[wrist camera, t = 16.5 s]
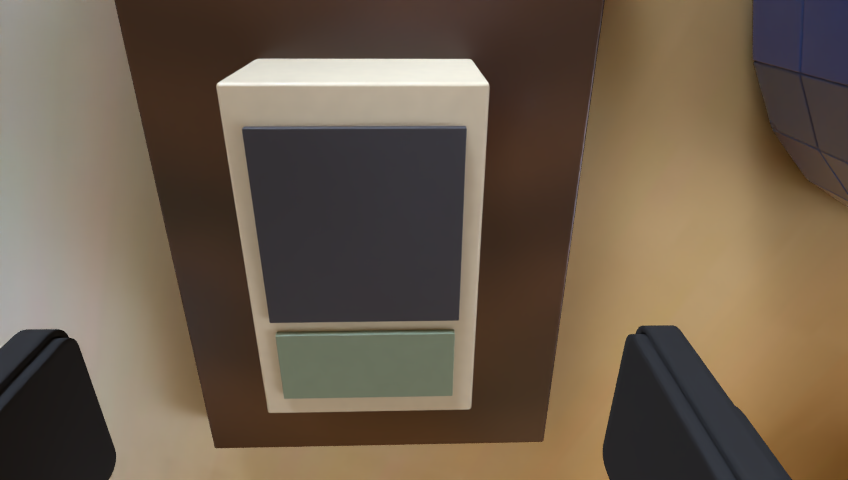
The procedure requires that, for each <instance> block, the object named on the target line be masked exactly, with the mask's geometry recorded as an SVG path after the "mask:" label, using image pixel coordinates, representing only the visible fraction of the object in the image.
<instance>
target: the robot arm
mask: <svg viewBox="0 0 848 480" xmlns="http://www.w3.org/2000/svg"><path fill="white" fill-rule="evenodd" d="M603 460H604V465H605V468H606V471H607V474H608V476H609V479H610V480H792V479H791V478H790V476H789V475H788V474H787V472H786V471H785V469H784V468H783V467H782V465H781V464H780V463H779V461H778V460H777V458H776V457H775V456H774V454H773V453H772V452H771V450H770V449H769V447H768V446H767V445H766V443H765V442H764V441H763V439H762V438H761V436H760V435H759V434H758V432H757V431H756V430H755V428H754V427H753V426H752V424H751V423H750V421H749V420H748V419H747V417H746V416H745V415H744V414H743V413H742V411H741V410H740V409H739V408H738V407H736V406H734V404H733V403H732V401H731V400H730V399H729V397H728V396H727V394H726V393H725V392H724V390H723V389H722V387H721V386H720V385H719V383H718V382H717V381H716V379H715V378H714V376H713V375H712V374H711V372H710V371H709V369H708V368H707V367H706V365H705V364H704V363H703V361H702V360H701V358H700V357H699V356H698V354H697V353H696V351H695V350H694V349H693V347H692V346H691V344H690V343H689V342H688V340H687V339H686V338H685V336H684V335H683V333H682V332H681V331H680V330H679V329H678V328H677V327H676V326H640V327H639V328H638V329H637V331H636V334H630V335H628V337H627V338H626V341H625V346H624V351H623V355H622V360H621V364H620V369H619V374H618V378H617V383H616V388H615V392H614V397H613V402H612V406H611V411H610V416H609V420H608V425H607V430H606V434H605V439H604V444H603ZM115 463H116V452H115V448H114V445H113V442H112V439H111V436H110V434H109V431H108V428H107V425H106V422H105V419H104V416H103V414H102V411H101V408H100V405H99V402H98V399H97V396H96V394H95V391H94V388H93V385H92V382H91V379H90V376H89V373H88V371H87V368H86V365H85V362H84V359H83V356H82V353H81V351H80V348H79V345H78V343H77V341H76V340H74V339H72V338H69V337H68V335H67V334H66V333H65V332H64V331H63V330H59V329H42V330H22V331H20V332H18V333H17V334H15V335H14V336H13V337H12V338H11V339H10V340H9V341H8V342H7V343H6V344H5V345H4V346H3V347H2V348H1V349H0V480H109V478H110V476H111V475H112V472H113V470H114V467H115Z"/></svg>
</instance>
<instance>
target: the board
mask: <svg viewBox="0 0 848 480" xmlns="http://www.w3.org/2000/svg"><path fill="white" fill-rule="evenodd" d="M604 2H605V0H115V5H116V9H117V14H118V18H119V22H120V27H121V31H122V36H123V40H124V45H125V49H126V54H127V58H128V63H129V67H130V71H131V76H132V80H133V85H134V89H135V94H136V98H137V103H138V107H139V112H140V116H141V121H142V125H143V129H144V134H145V138H146V143H147V147H148V152H149V156H150V161H151V165H152V170H153V174H154V178H155V183H156V187H157V192H158V196H159V201H160V205H161V210H162V214H163V219H164V223H165V227H166V232H167V236H168V241H169V245H170V250H171V254H172V259H173V263H174V268H175V272H176V277H177V281H178V285H179V290H180V294H181V299H182V303H183V308H184V312H185V317H186V321H187V326H188V330H189V334H190V339H191V343H192V348H193V352H194V357H195V361H196V366H197V370H198V375H199V379H200V384H201V388H202V392H203V397H204V401H205V406H206V410H207V415H208V419H209V424H210V428H211V433H212V437H213V441H214V446H215V448H251V447H303V446H354V445H405V444H456V443H507V442H542V441H543V440H544V432H545V425H546V418H547V411H548V404H549V396H550V389H551V382H552V375H553V368H554V361H555V353H556V346H557V339H558V332H559V325H560V318H561V310H562V303H563V296H564V289H565V282H566V274H567V267H568V260H569V253H570V246H571V239H572V231H573V224H574V217H575V210H576V203H577V196H578V188H579V181H580V174H581V167H582V160H583V152H584V145H585V138H586V131H587V124H588V117H589V109H590V102H591V95H592V88H593V81H594V74H595V66H596V59H597V52H598V45H599V38H600V30H601V23H602V16H603V9H604ZM256 59H471V60H472V61H473V62H474V64H475V65H476V66H477V68H478V69H479V71H480V72H481V73H482V75H483V76H484V77H485V79H486V80H487V82H488V83H489V86H490V90H489V107H488V125H487V142H486V160H485V177H484V194H483V212H482V229H481V247H480V264H479V281H478V299H477V316H476V334H475V351H474V369H473V386H472V403H471V408H470V409H466V410H411V411H355V412H299V413H269V412H268V408H267V402H266V396H265V389H264V383H263V377H262V371H261V364H260V358H259V352H258V345H257V339H256V333H255V327H254V320H253V314H252V308H251V301H250V295H249V289H248V283H247V276H246V270H245V264H244V258H243V251H242V245H241V239H240V232H239V226H238V220H237V214H236V207H235V201H234V195H233V188H232V182H231V176H230V170H229V163H228V157H227V151H226V145H225V138H224V132H223V126H222V119H221V113H220V107H219V101H218V94H217V88H216V85H217V83H218V82H220V81H222V80H223V79H225V78H226V77H228V76H230V75H231V74H233V73H235V72H236V71H238V70H239V69H241V68H243V67H244V66H246V65H248V64H249V63H251V62H252V61H254V60H256Z"/></svg>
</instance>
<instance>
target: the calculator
mask: <svg viewBox="0 0 848 480" xmlns="http://www.w3.org/2000/svg"><path fill="white" fill-rule="evenodd" d="M216 88H217V94H218V101H219V107H220V113H221V119H222V126H223V132H224V138H225V145H226V151H227V157H228V163H229V170H230V176H231V182H232V188H233V195H234V201H235V207H236V214H237V220H238V226H239V232H240V239H241V245H242V251H243V258H244V264H245V270H246V276H247V283H248V289H249V295H250V301H251V308H252V314H253V320H254V327H255V333H256V339H257V345H258V352H259V358H260V364H261V371H262V377H263V383H264V389H265V396H266V402H267V408H268V412H269V413H299V412H355V411H411V410H466V409H470V408H471V403H472V386H473V369H474V351H475V334H476V316H477V299H478V281H479V264H480V247H481V229H482V212H483V194H484V177H485V160H486V142H487V125H488V107H489V90H490V86H489V83H488V82H487V80H486V79H485V77H484V76H483V75H482V73H481V72H480V71H479V69H478V68H477V66H476V65H475V64H474V62H473V61H472V60H471V59H256V60H254V61H252V62H251V63H249V64H248V65H246V66H244V67H243V68H241V69H239V70H238V71H236V72H235V73H233V74H231V75H230V76H228V77H226V78H225V79H223V80H222V81H220V82H218V83H217V85H216Z"/></svg>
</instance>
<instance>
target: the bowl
mask: <svg viewBox="0 0 848 480" xmlns="http://www.w3.org/2000/svg"><path fill="white" fill-rule="evenodd" d="M752 59H753V61H754V62H753V64H754V68H755V71H756V75H757V78H758V82H759V85H760V89H761V92H762V96H763V99H764V103H765V107H766V110H767V114H768V117H769V121H770V124H771V127H772V130H773V132H774V133H775V135H776V136H777V138H778V139H779V140H780V142H781V143H782V145H783V146H784V147H785V149H786V150H787V152H788V153H789V155H790V156H791V157H792V159H793V160H794V162H795V163H796V164H797V166H798V167H799V169H800V170H801V172H802V173H803V174H804V176H805V177H806V179H808V180H809V181H810V182H811V183H813V184H814V185H816V186H817V187H819V188H820V189H822V190H823V191H825V192H826V193H828V194H829V195H830V196H832V197H833V198H835V199H836V200H838V201H839V202H841V203H842V204H844V205H845V206H847V207H848V0H753V58H752Z"/></svg>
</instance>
